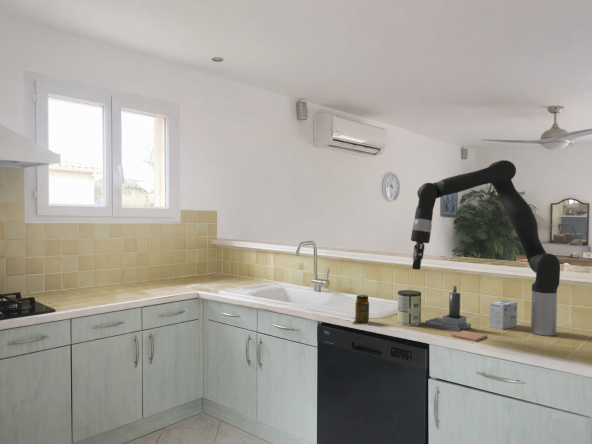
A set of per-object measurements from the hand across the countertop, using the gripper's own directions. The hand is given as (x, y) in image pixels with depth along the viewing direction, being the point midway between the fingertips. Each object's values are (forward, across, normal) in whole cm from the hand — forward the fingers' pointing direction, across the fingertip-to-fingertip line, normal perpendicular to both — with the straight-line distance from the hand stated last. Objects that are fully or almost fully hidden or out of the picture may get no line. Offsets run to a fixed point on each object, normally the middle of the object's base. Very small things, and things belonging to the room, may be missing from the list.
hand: (415, 269), depth 189 cm
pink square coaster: (+23, -1, -24) cm, 33 cm away
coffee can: (+24, +18, -2) cm, 30 cm away
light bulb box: (+19, +20, -42) cm, 50 cm away
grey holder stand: (+22, +14, -18) cm, 32 cm away
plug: (+20, +12, -20) cm, 31 cm away
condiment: (+28, +15, +19) cm, 37 cm away
